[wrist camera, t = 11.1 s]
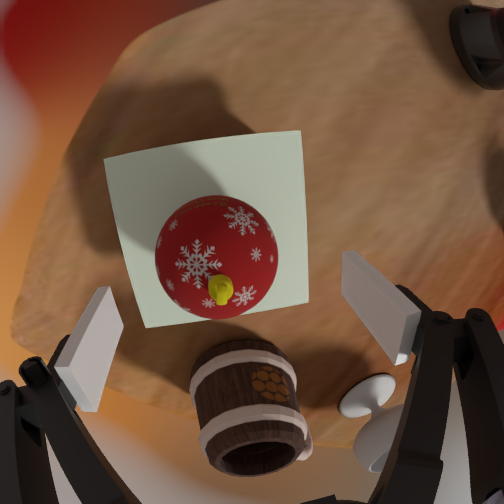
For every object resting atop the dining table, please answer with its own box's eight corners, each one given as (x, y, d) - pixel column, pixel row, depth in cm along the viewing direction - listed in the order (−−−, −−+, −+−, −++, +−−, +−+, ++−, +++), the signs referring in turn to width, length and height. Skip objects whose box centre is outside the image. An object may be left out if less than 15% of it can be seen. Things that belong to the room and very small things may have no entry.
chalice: (362, 365, 45) (403, 430, 32) (410, 371, 49) (450, 423, 36) (320, 417, 49) (347, 480, 36) (371, 418, 53) (400, 470, 40)
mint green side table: (126, 153, 28) (103, 159, 21) (277, 131, 30) (300, 130, 23) (155, 289, 35) (145, 328, 27) (287, 268, 36) (308, 302, 29)
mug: (169, 381, 40) (165, 467, 26) (235, 316, 38) (255, 407, 24) (264, 424, 47) (282, 494, 34) (328, 374, 45) (365, 445, 31)
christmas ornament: (268, 188, 24) (310, 220, 15) (260, 283, 27) (289, 355, 18) (161, 185, 23) (135, 218, 14) (164, 283, 26) (150, 358, 17)
